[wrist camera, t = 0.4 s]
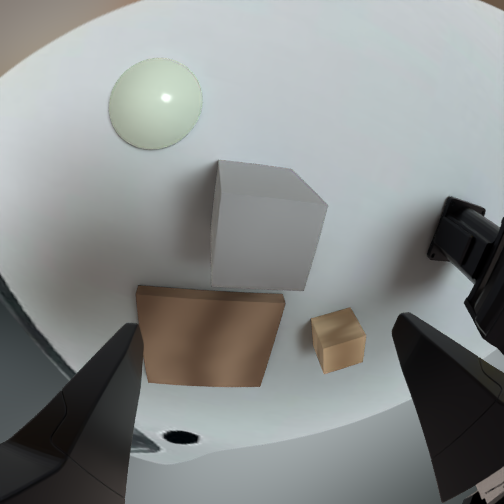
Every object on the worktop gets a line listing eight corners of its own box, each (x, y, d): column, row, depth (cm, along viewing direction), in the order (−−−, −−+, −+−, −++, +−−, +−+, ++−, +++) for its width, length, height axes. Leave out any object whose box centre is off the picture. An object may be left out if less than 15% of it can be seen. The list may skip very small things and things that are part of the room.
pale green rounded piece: (209, 62, 15) (208, 60, 15) (196, 149, 18) (196, 152, 17) (119, 60, 14) (114, 59, 14) (111, 145, 17) (106, 148, 16)
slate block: (291, 168, 19) (327, 205, 13) (278, 233, 22) (303, 290, 16) (218, 159, 19) (221, 192, 13) (210, 228, 21) (211, 286, 15)
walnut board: (282, 294, 25) (285, 303, 24) (258, 378, 30) (260, 386, 29) (138, 285, 22) (135, 294, 21) (149, 373, 28) (148, 382, 27)
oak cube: (349, 306, 27) (366, 335, 23) (348, 333, 29) (362, 361, 25) (310, 317, 27) (323, 348, 23) (312, 344, 29) (323, 374, 25)
